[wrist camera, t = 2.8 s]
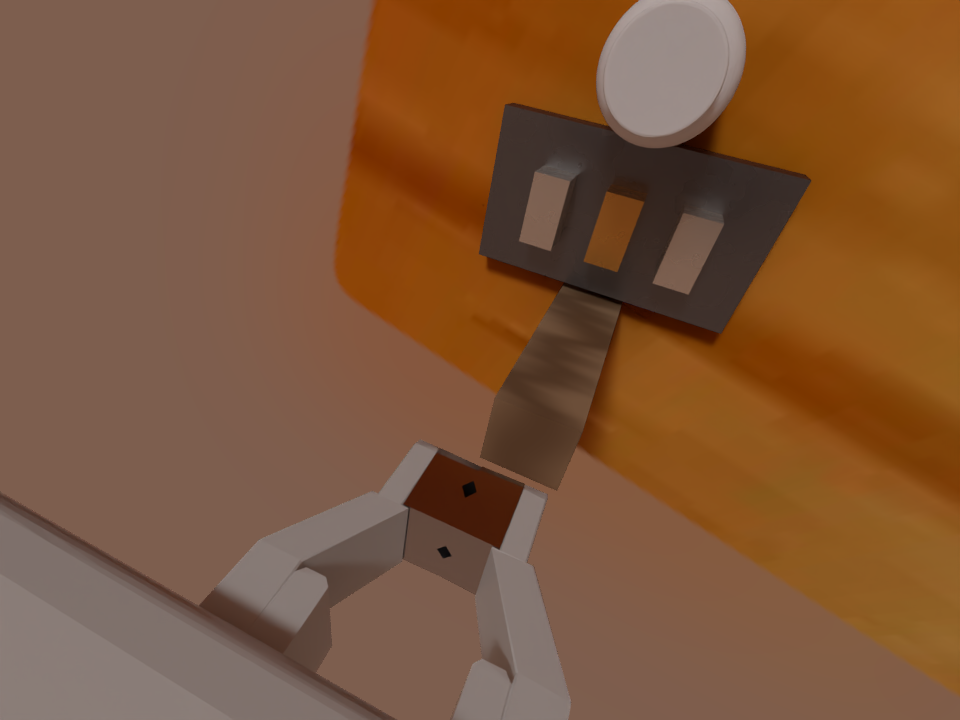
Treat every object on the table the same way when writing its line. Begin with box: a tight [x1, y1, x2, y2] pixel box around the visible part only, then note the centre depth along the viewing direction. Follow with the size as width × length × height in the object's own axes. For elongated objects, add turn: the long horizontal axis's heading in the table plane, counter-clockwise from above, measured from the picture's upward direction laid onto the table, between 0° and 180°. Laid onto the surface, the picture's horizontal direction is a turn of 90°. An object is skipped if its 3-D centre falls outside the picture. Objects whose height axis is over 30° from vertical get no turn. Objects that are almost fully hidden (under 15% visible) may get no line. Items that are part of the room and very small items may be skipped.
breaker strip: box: [479, 103, 811, 334], centre depth 26 cm, size 16×9×4 cm, turn 79°
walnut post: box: [480, 283, 623, 490], centre depth 26 cm, size 4×4×14 cm
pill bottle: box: [596, 0, 746, 148], centre depth 19 cm, size 5×5×10 cm
